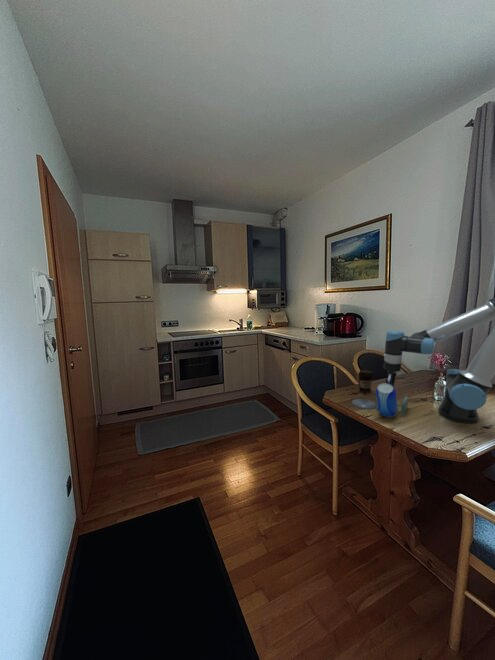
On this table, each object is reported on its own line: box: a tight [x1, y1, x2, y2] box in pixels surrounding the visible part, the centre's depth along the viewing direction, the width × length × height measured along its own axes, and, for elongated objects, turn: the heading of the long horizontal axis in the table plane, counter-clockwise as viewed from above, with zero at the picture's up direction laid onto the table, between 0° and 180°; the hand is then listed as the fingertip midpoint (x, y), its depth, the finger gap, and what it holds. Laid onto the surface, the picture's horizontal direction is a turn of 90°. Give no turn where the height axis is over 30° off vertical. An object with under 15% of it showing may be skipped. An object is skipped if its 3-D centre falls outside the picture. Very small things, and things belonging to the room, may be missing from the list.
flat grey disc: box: [351, 398, 377, 410], centre depth 141 cm, size 12×12×1 cm
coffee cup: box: [358, 370, 374, 394], centre depth 157 cm, size 9×8×13 cm
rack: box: [375, 396, 409, 417], centre depth 135 cm, size 12×13×6 cm
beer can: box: [375, 382, 399, 418], centre depth 125 cm, size 8×8×16 cm
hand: (388, 406), depth 132 cm, fingers closed
